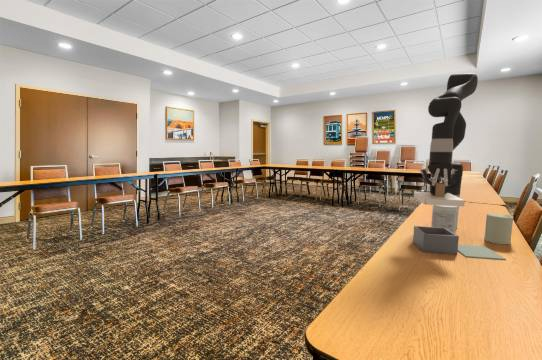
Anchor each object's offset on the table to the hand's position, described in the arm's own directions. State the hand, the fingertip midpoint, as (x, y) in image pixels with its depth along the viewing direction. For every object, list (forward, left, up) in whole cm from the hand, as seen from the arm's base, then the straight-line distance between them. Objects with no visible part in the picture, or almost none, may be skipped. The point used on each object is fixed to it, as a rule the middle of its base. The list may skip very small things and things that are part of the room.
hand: (437, 194), depth 111 cm
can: (-16, +31, -22) cm, 41 cm away
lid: (0, 0, -3) cm, 3 cm away
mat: (+1, +14, -21) cm, 26 cm away
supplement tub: (-18, +10, -22) cm, 30 cm away
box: (0, 0, -21) cm, 21 cm away
